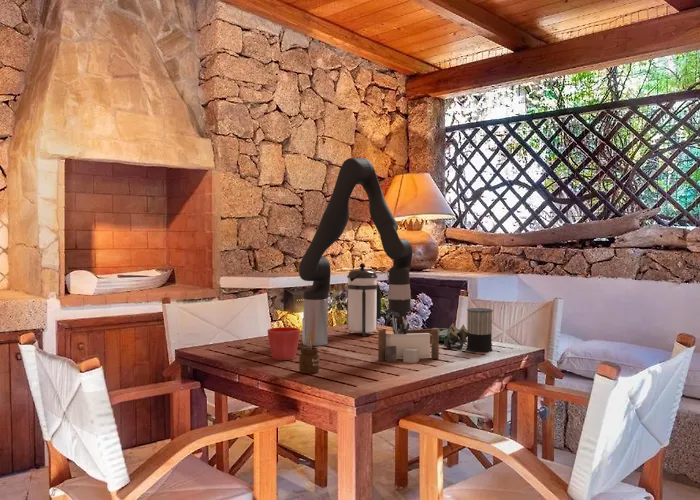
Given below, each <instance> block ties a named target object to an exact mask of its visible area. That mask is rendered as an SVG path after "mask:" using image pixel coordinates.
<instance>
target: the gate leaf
mask: <svg viewBox="0 0 700 500" xmlns="http://www.w3.org/2000/svg"><path fill="white" fill-rule="evenodd" d="M386 346H396V360H403V350H404V349H406V348H417V349H419V359H430V358H431V341H430V334H429V333H412V334H394V333H386Z"/></svg>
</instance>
